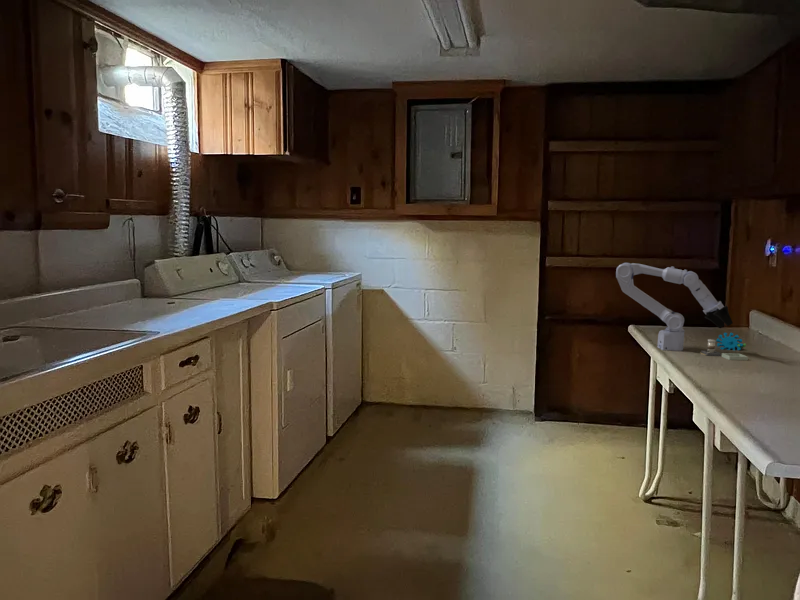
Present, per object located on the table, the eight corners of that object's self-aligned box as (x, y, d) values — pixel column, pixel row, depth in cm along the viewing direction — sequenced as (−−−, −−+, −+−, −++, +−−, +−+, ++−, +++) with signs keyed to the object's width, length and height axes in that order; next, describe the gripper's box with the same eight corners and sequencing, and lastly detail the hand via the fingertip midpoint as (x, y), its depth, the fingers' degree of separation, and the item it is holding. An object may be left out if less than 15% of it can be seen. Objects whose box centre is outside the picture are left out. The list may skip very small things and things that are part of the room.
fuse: (708, 355, 265) (709, 340, 264) (705, 353, 267) (706, 339, 267) (715, 355, 265) (717, 340, 264) (712, 353, 267) (713, 339, 267)
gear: (714, 347, 278) (719, 329, 283) (712, 355, 282) (717, 337, 287) (743, 354, 273) (748, 335, 278) (741, 362, 278) (745, 343, 283)
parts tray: (729, 362, 256) (729, 356, 256) (721, 359, 262) (721, 353, 262) (747, 363, 257) (747, 356, 256) (739, 359, 263) (739, 353, 262)
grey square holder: (705, 358, 263) (705, 353, 263) (698, 355, 269) (699, 350, 269) (722, 359, 263) (722, 353, 263) (715, 356, 269) (715, 350, 269)
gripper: (720, 288, 262) (742, 317, 260) (705, 295, 276) (726, 322, 274) (705, 299, 262) (727, 327, 259) (691, 304, 276) (712, 332, 274)
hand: (726, 325), depth 267 cm, fingers open, 7 cm apart
